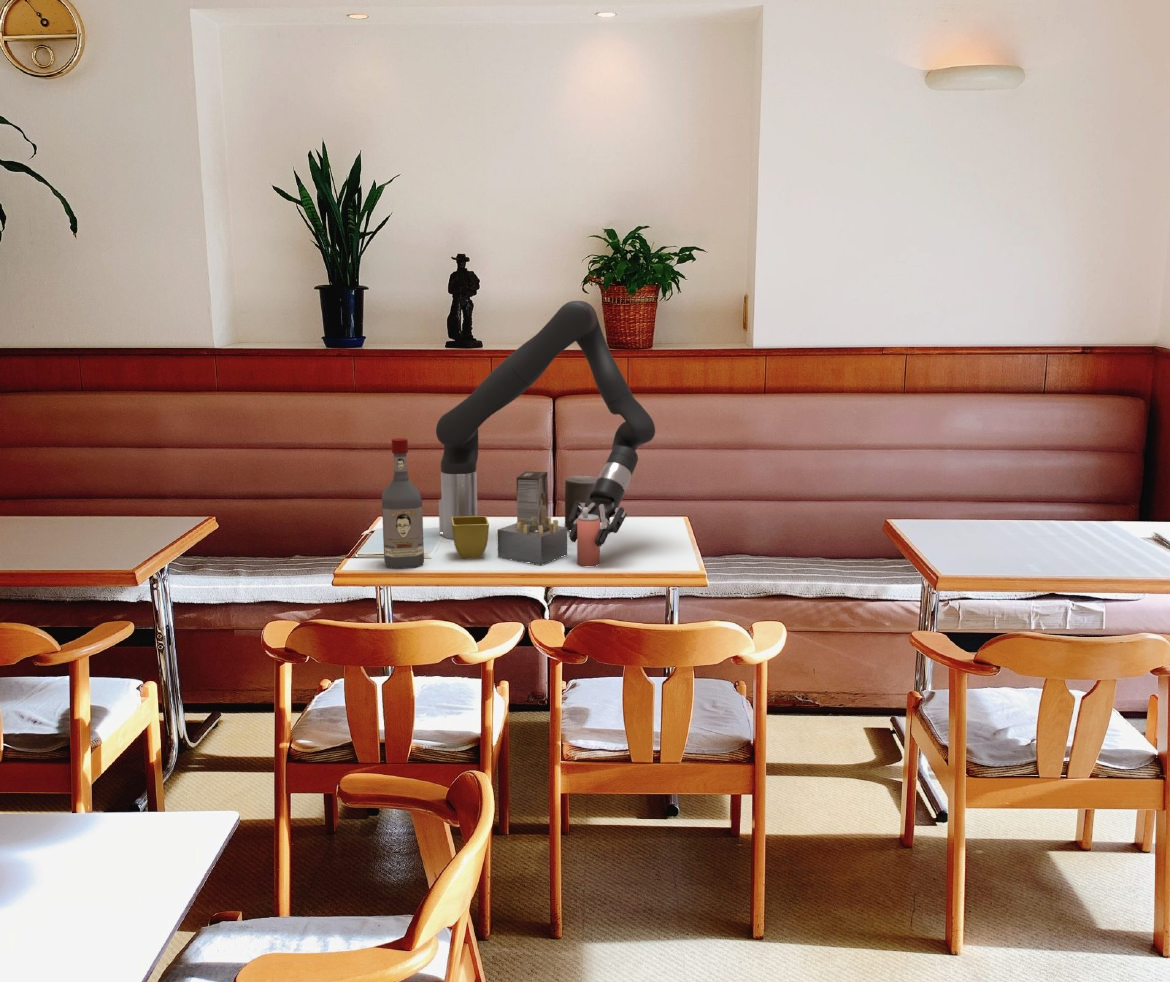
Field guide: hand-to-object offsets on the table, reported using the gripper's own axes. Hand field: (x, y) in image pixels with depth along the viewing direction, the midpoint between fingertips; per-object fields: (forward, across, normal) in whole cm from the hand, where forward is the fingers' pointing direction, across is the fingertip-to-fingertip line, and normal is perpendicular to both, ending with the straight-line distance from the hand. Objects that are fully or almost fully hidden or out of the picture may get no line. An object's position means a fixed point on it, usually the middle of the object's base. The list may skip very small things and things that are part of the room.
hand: (584, 542), depth 247 cm
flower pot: (+10, -28, -2) cm, 30 cm away
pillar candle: (-17, -20, +25) cm, 36 cm away
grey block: (+4, -17, +4) cm, 17 cm away
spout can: (+3, 0, +5) cm, 6 cm away
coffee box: (-8, -28, +17) cm, 34 cm away
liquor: (+20, -37, -12) cm, 44 cm away
